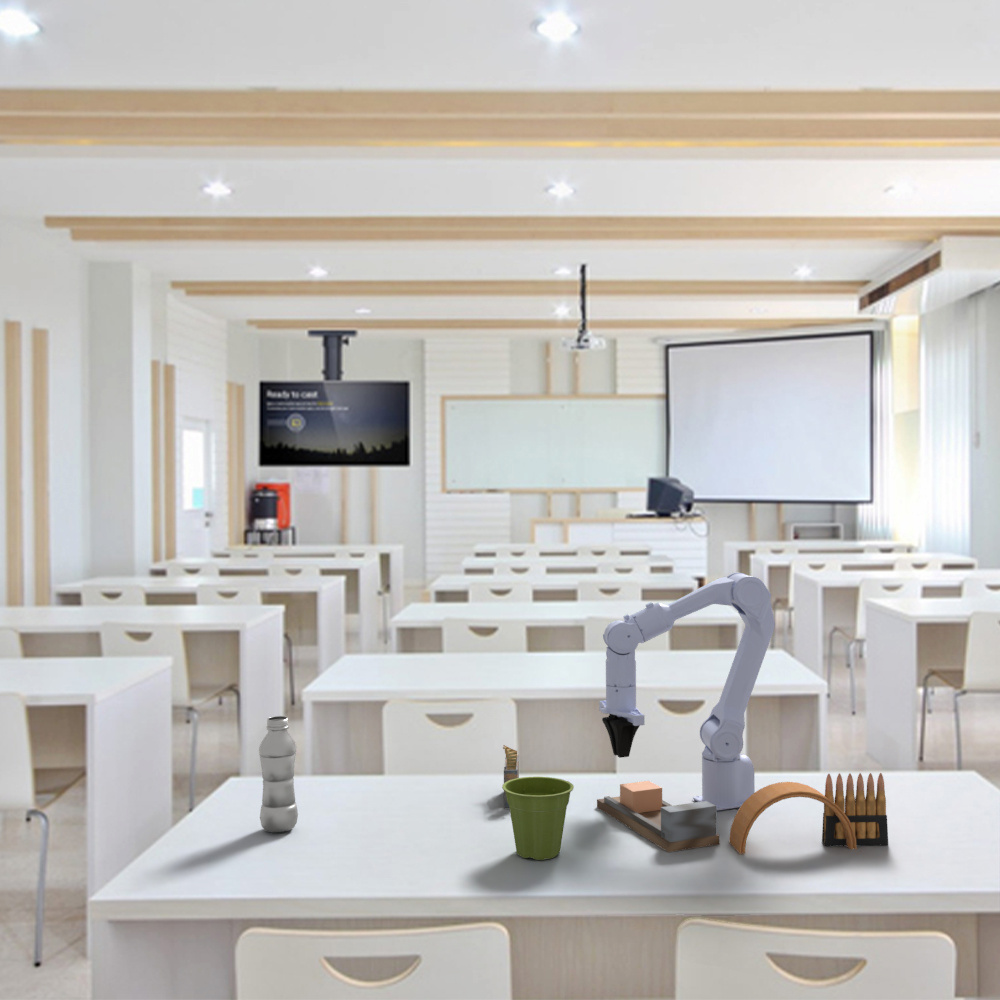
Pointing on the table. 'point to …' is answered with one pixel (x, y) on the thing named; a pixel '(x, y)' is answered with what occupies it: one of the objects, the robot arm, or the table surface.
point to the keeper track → (652, 835)
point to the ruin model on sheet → (510, 768)
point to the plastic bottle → (278, 777)
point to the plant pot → (538, 814)
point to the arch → (776, 794)
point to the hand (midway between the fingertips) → (621, 755)
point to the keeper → (641, 796)
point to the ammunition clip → (856, 812)
